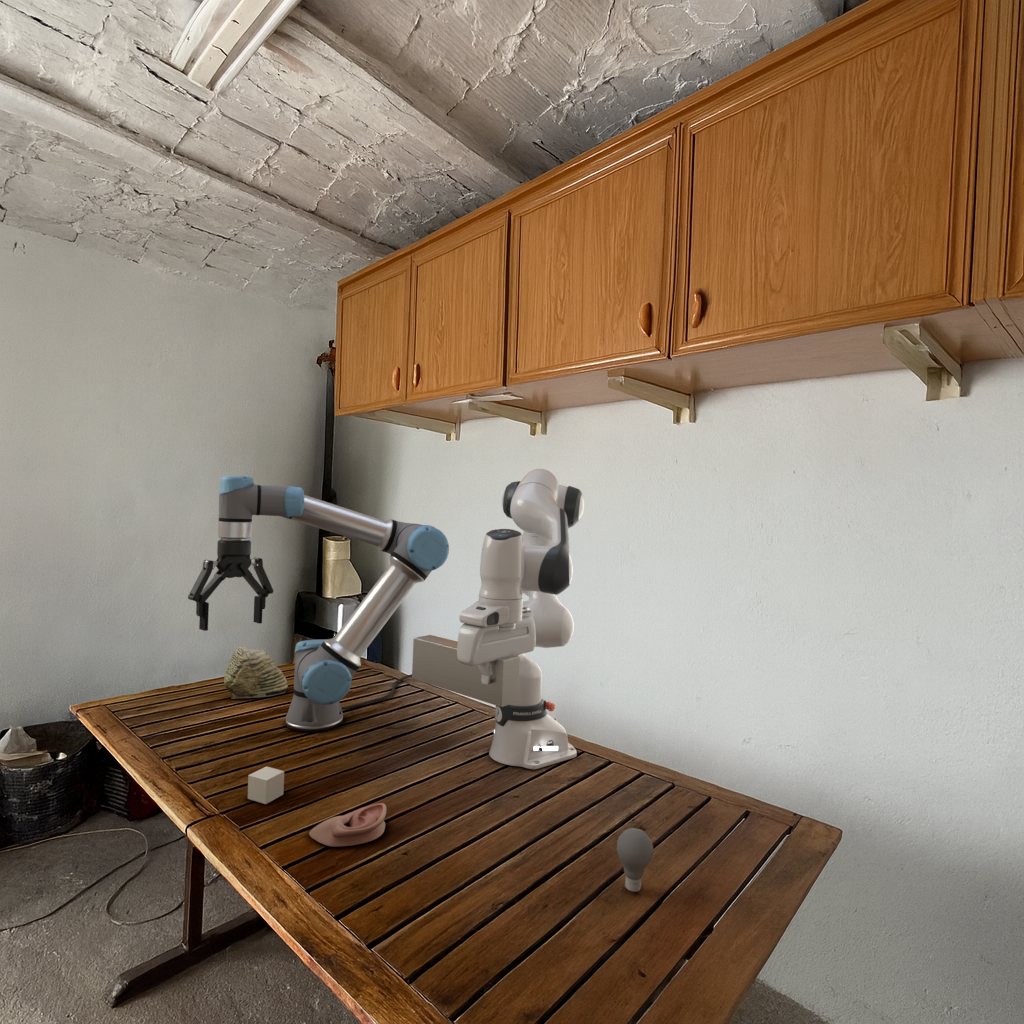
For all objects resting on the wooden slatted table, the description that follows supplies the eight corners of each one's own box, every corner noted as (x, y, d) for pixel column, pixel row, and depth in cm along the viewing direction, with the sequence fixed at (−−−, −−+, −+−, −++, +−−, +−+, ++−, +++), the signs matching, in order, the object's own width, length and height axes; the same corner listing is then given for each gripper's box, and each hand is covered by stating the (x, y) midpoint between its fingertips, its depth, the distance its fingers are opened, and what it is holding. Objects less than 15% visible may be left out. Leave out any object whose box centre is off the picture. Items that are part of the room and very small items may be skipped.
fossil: (219, 695, 195) (221, 647, 195) (279, 686, 207) (281, 640, 207) (229, 703, 188) (231, 653, 188) (290, 693, 201) (292, 646, 200)
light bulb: (610, 878, 109) (613, 821, 108) (645, 878, 109) (647, 821, 109) (619, 901, 103) (622, 840, 103) (655, 900, 103) (658, 839, 103)
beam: (428, 674, 142) (430, 634, 142) (518, 701, 126) (520, 656, 126) (411, 678, 139) (413, 637, 138) (501, 707, 122) (503, 660, 122)
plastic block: (265, 789, 136) (266, 766, 136) (283, 794, 134) (284, 771, 134) (247, 798, 131) (248, 775, 131) (265, 804, 129) (266, 780, 129)
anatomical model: (301, 820, 116) (331, 792, 127) (300, 842, 116) (330, 812, 127) (368, 831, 113) (393, 801, 124) (368, 853, 113) (392, 821, 124)
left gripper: (273, 537, 166) (270, 617, 166) (174, 539, 147) (171, 630, 147) (289, 539, 161) (286, 622, 162) (189, 541, 142) (186, 635, 142)
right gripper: (520, 603, 136) (518, 668, 136) (453, 614, 120) (450, 686, 120) (544, 608, 132) (541, 674, 132) (477, 619, 116) (474, 694, 116)
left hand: (231, 626), depth 154 cm, fingers open, 13 cm apart
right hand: (497, 680), depth 126 cm, fingers closed on beam, 5 cm apart
